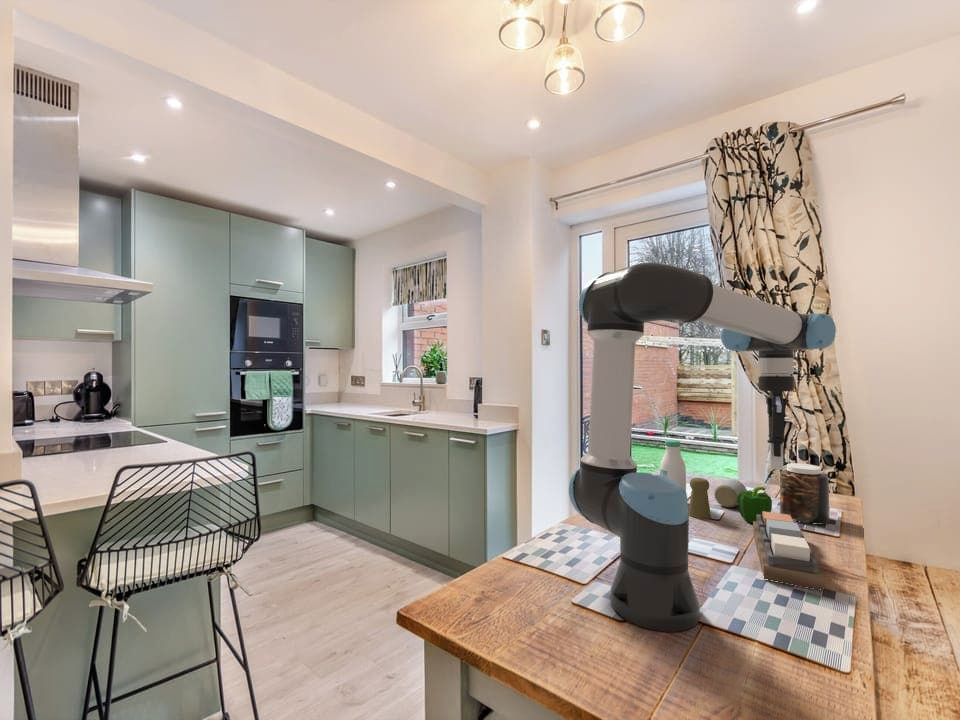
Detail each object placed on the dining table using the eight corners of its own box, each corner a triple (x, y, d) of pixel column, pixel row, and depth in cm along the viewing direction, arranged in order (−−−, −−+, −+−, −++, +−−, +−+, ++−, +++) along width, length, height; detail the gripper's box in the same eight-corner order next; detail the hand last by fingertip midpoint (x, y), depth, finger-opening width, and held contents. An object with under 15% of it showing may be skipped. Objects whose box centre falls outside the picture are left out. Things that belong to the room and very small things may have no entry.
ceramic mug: (712, 505, 143) (712, 481, 143) (722, 500, 149) (722, 476, 148) (749, 514, 135) (750, 488, 135) (758, 508, 141) (758, 483, 141)
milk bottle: (687, 501, 147) (687, 440, 147) (684, 508, 140) (683, 443, 141) (662, 497, 151) (662, 438, 151) (658, 504, 144) (657, 441, 145)
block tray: (823, 591, 89) (823, 565, 89) (764, 580, 93) (763, 555, 93) (798, 538, 115) (798, 519, 115) (753, 532, 120) (752, 513, 120)
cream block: (809, 563, 91) (809, 548, 91) (774, 557, 94) (774, 543, 94) (804, 552, 96) (804, 538, 96) (771, 547, 99) (771, 533, 99)
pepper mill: (706, 512, 136) (706, 476, 136) (714, 519, 130) (714, 481, 130) (685, 512, 136) (685, 475, 136) (692, 519, 130) (692, 480, 130)
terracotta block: (793, 534, 110) (793, 522, 110) (764, 530, 112) (764, 518, 112) (790, 526, 115) (790, 514, 115) (762, 522, 118) (762, 511, 118)
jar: (832, 528, 123) (831, 472, 123) (780, 520, 129) (780, 467, 129) (826, 515, 133) (826, 464, 133) (779, 509, 139) (778, 460, 140)
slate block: (801, 544, 100) (800, 531, 100) (769, 540, 103) (769, 526, 103) (796, 535, 106) (796, 522, 106) (766, 531, 108) (766, 518, 108)
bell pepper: (733, 521, 128) (733, 486, 129) (742, 514, 134) (742, 480, 134) (768, 528, 123) (767, 492, 123) (775, 521, 128) (775, 486, 128)
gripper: (798, 375, 107) (798, 476, 106) (789, 374, 118) (790, 465, 118) (760, 375, 110) (761, 472, 110) (756, 374, 122) (756, 462, 121)
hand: (776, 468), depth 114 cm, fingers closed
